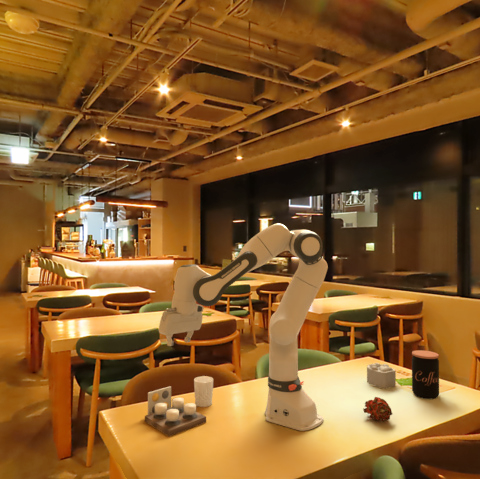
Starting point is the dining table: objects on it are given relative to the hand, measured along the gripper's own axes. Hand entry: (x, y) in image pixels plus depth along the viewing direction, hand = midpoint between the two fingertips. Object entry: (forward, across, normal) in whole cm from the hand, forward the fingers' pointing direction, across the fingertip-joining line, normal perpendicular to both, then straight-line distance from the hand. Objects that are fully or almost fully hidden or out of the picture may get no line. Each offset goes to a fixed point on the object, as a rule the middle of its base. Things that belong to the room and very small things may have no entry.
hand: (178, 343), depth 148 cm
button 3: (+24, +4, 0) cm, 25 cm away
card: (+29, +2, +7) cm, 30 cm away
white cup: (+27, +18, -2) cm, 33 cm away
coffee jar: (+16, +79, -75) cm, 110 cm away
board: (+28, -1, -4) cm, 28 cm away
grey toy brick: (+18, +84, -55) cm, 102 cm away
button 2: (+24, -5, -6) cm, 26 cm away
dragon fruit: (+19, +43, -64) cm, 79 cm away
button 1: (+24, +2, -8) cm, 25 cm away
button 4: (+25, -4, +1) cm, 25 cm away
